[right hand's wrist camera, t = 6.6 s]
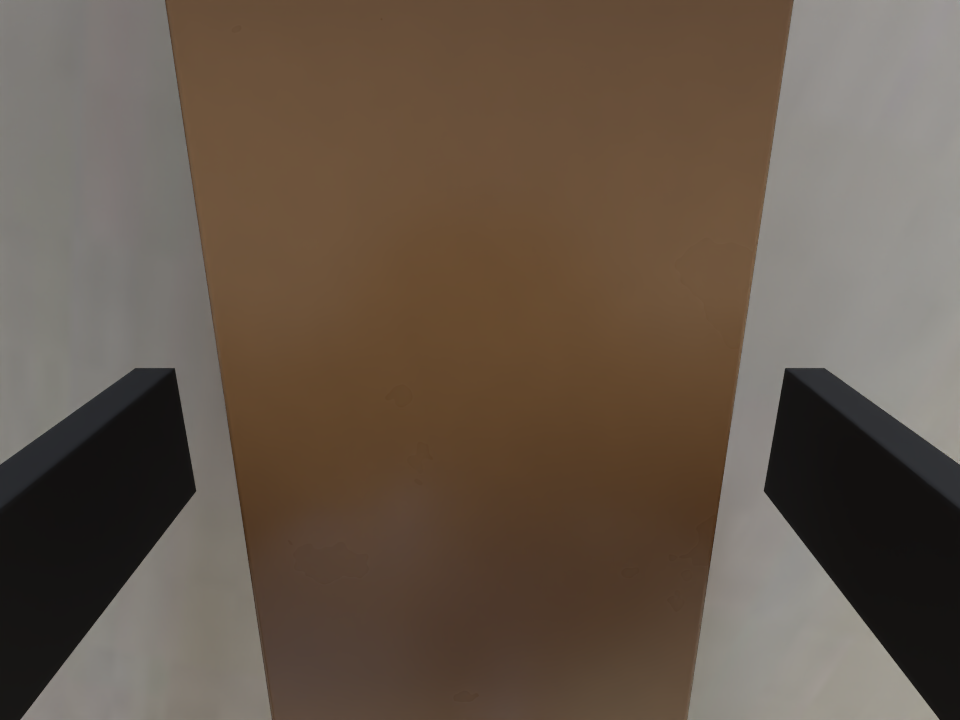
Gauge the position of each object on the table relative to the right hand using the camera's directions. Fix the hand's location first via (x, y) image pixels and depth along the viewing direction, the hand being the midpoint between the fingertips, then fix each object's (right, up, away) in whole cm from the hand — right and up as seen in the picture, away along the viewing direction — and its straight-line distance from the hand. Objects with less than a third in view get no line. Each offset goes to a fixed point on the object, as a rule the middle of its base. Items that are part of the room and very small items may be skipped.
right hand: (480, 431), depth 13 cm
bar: (0, +8, -1) cm, 8 cm away
